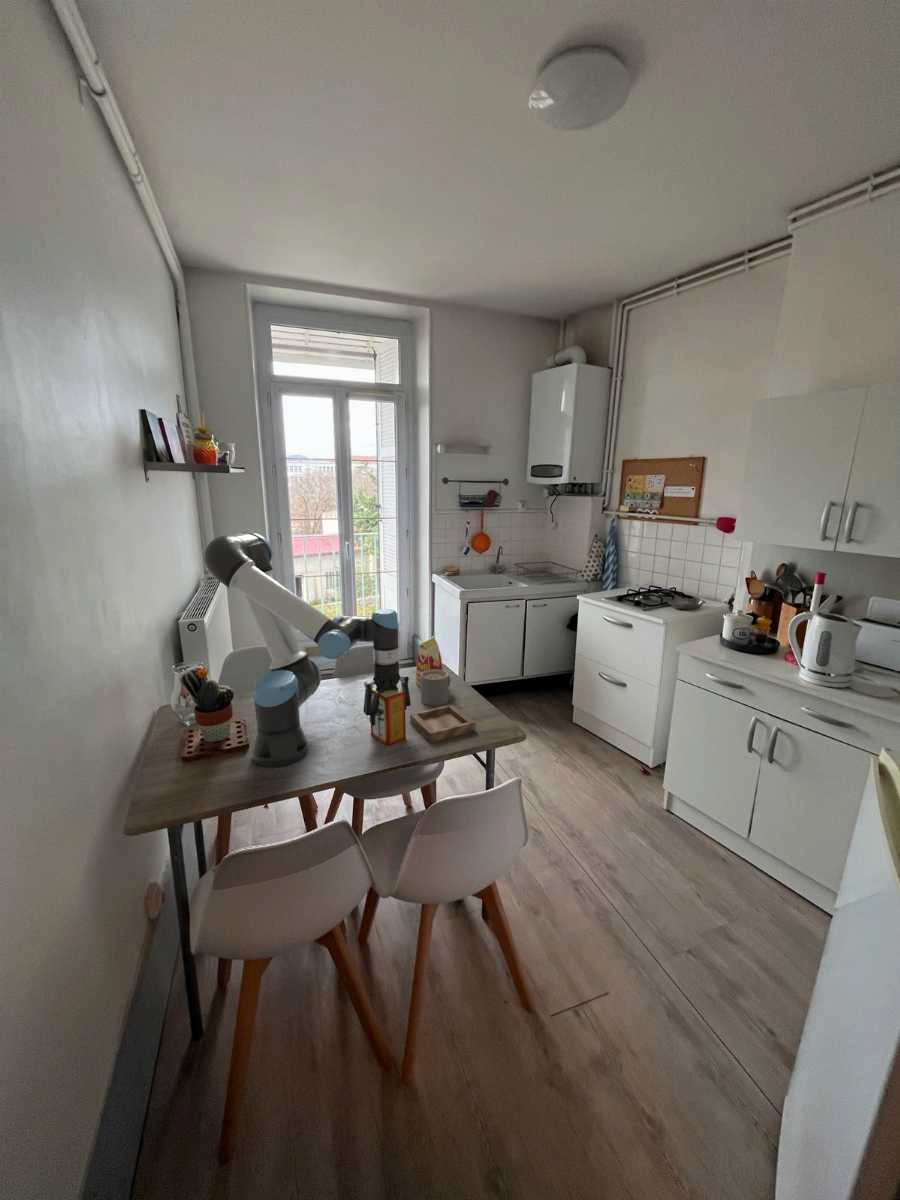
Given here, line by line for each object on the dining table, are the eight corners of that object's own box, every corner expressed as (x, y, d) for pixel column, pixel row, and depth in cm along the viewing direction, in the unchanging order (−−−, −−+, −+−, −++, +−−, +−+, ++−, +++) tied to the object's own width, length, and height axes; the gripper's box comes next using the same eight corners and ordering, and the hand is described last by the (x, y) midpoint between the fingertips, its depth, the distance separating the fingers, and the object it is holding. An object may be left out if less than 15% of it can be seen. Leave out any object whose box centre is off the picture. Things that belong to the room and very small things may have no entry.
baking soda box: (371, 734, 152) (369, 687, 148) (388, 728, 156) (387, 681, 152) (388, 746, 145) (386, 696, 141) (405, 739, 149) (404, 690, 146)
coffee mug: (431, 708, 171) (431, 681, 169) (415, 699, 178) (415, 673, 176) (460, 698, 179) (461, 672, 177) (443, 690, 186) (444, 665, 184)
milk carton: (431, 679, 197) (431, 631, 193) (445, 685, 190) (446, 637, 186) (413, 684, 192) (412, 636, 187) (427, 691, 185) (427, 641, 180)
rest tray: (430, 742, 147) (430, 733, 146) (410, 722, 160) (410, 714, 159) (475, 730, 155) (475, 722, 154) (452, 712, 167) (452, 704, 167)
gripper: (357, 670, 137) (360, 744, 142) (422, 659, 147) (422, 728, 152) (349, 662, 143) (352, 733, 148) (411, 652, 153) (412, 718, 158)
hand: (388, 730), depth 150 cm, fingers closed on baking soda box, 7 cm apart
